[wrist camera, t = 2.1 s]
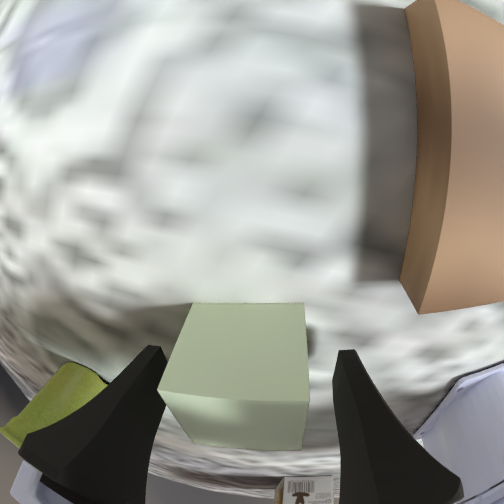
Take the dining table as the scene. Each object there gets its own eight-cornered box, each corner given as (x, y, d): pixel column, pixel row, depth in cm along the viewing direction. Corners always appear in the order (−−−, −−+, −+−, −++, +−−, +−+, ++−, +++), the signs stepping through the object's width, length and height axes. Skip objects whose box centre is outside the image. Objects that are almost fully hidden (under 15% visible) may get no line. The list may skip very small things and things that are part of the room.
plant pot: (30, 332, 15) (-24, 410, 7) (121, 360, 14) (63, 481, 6) (79, 400, 19) (47, 466, 11) (162, 427, 18) (136, 512, 10)
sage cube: (300, 369, 12) (300, 450, 8) (212, 367, 13) (193, 442, 9) (303, 301, 10) (309, 400, 6) (193, 301, 11) (156, 389, 7)
